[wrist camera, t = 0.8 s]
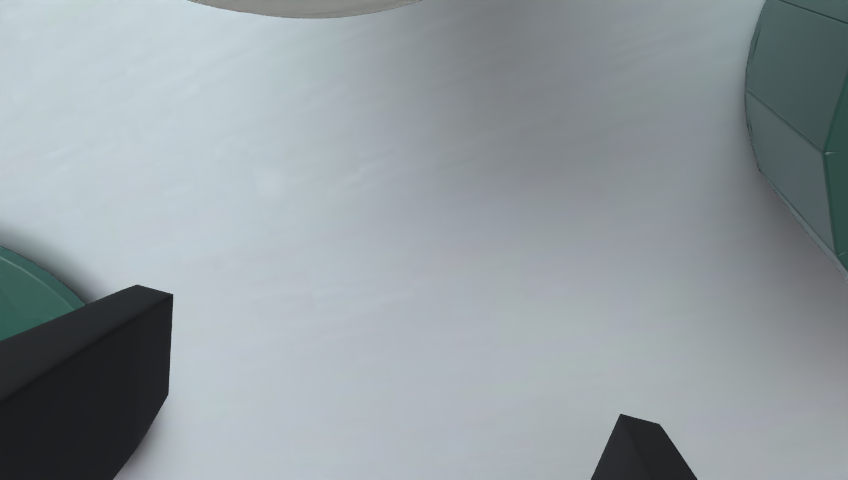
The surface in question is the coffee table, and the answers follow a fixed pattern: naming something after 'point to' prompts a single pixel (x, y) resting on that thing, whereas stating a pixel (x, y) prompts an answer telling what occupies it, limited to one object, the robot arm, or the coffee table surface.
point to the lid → (30, 295)
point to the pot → (803, 114)
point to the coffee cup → (307, 7)
